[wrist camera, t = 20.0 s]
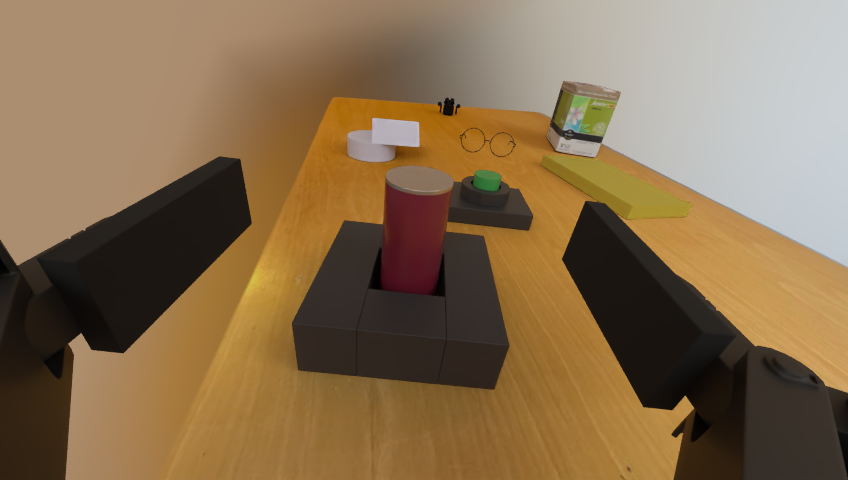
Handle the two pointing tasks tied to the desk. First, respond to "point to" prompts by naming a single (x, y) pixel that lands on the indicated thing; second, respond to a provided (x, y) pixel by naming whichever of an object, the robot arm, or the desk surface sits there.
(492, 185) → the button
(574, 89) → the tea box
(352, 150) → the wedge on round base
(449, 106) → the wireless earbuds
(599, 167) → the flat olive board
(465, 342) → the square peg hole block
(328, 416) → the desk surface
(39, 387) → the robot arm
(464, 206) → the panel
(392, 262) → the dark red cylinder
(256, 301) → the desk surface
